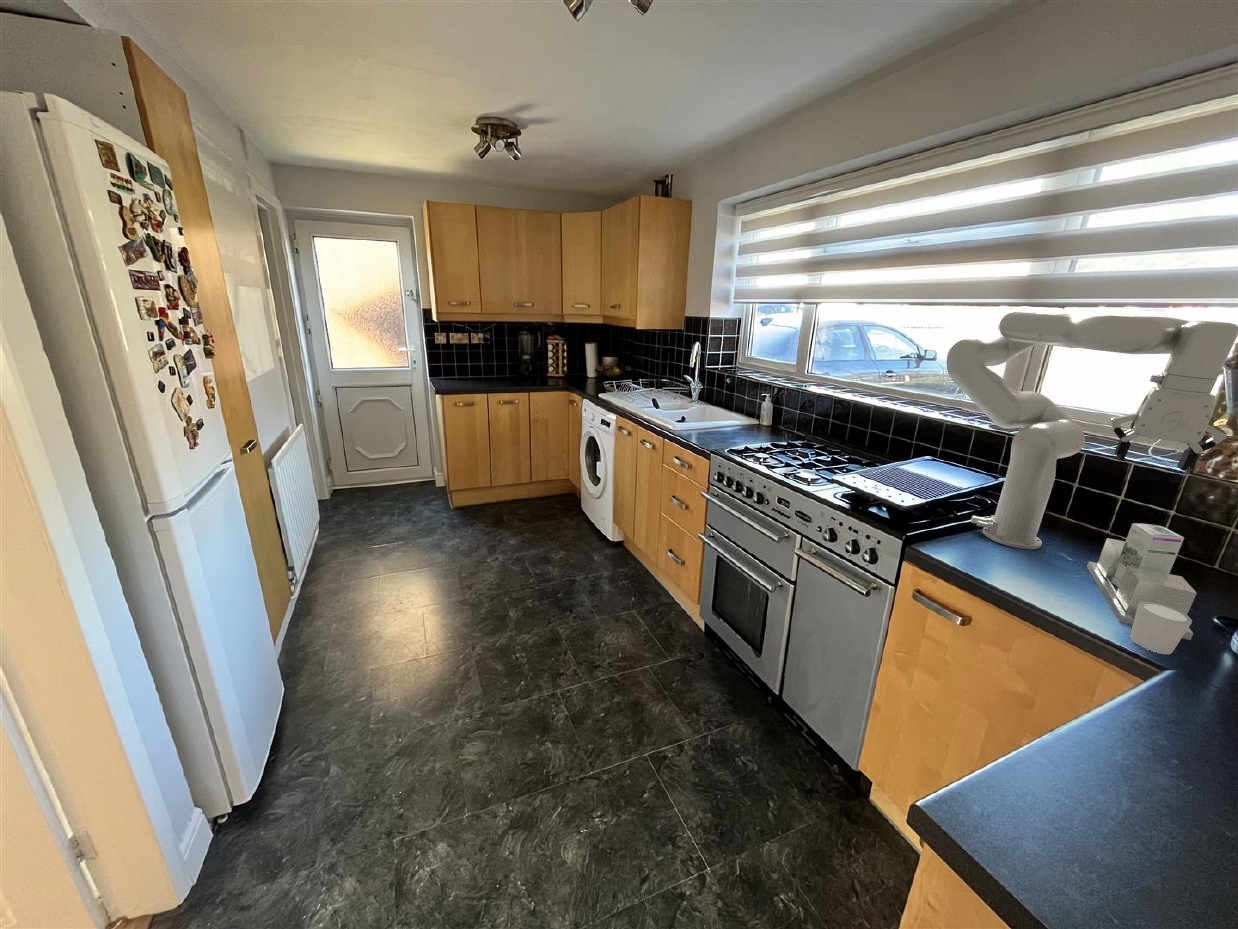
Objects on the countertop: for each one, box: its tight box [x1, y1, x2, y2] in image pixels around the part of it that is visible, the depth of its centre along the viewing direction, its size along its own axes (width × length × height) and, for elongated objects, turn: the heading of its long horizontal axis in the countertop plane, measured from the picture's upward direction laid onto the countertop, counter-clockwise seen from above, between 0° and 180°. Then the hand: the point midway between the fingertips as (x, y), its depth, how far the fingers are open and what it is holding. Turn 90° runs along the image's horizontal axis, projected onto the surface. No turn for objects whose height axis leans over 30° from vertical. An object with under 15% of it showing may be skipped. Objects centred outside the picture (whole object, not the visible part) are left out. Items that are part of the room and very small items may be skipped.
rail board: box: [1086, 537, 1197, 641], centre depth 106 cm, size 10×26×9 cm, turn 149°
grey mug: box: [1129, 602, 1193, 655], centre depth 91 cm, size 7×7×7 cm
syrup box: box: [1110, 522, 1185, 588], centre depth 104 cm, size 6×6×14 cm
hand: (1149, 463), depth 107 cm, fingers open, 9 cm apart
